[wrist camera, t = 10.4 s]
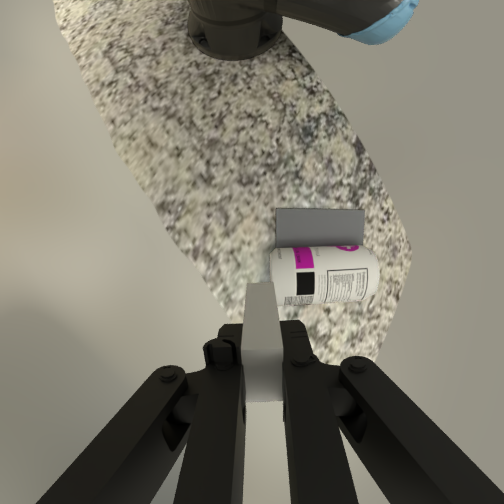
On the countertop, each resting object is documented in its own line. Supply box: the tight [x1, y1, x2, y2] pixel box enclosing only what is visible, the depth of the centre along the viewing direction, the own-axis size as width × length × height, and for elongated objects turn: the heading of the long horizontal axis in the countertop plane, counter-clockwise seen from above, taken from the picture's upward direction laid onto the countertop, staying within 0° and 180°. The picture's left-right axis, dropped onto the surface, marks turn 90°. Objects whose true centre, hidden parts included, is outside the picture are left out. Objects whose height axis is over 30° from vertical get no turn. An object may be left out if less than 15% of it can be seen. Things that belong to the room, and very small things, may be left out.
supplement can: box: [270, 245, 380, 306], centre depth 40 cm, size 8×8×15 cm
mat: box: [276, 208, 365, 248], centre depth 43 cm, size 13×14×1 cm
